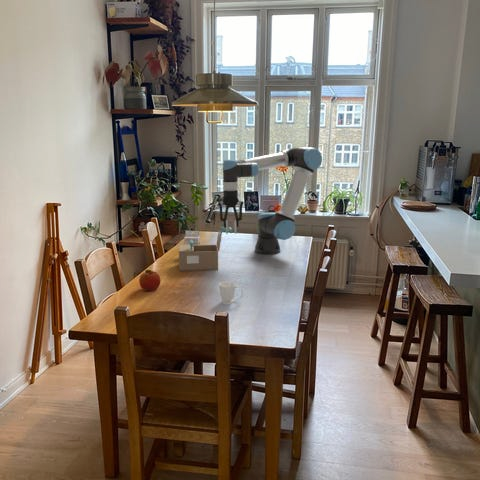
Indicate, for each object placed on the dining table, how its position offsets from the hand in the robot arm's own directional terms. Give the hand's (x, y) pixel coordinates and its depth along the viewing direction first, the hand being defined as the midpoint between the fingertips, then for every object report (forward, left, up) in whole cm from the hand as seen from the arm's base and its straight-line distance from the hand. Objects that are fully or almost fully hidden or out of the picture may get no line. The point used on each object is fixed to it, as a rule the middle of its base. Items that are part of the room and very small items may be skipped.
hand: (231, 233), depth 249 cm
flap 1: (+24, +4, -7) cm, 25 cm away
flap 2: (+7, +3, -2) cm, 8 cm away
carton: (+18, +3, -17) cm, 25 cm away
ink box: (+21, -17, -17) cm, 32 cm away
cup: (+6, +56, -17) cm, 59 cm away
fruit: (+41, +36, -17) cm, 57 cm away
